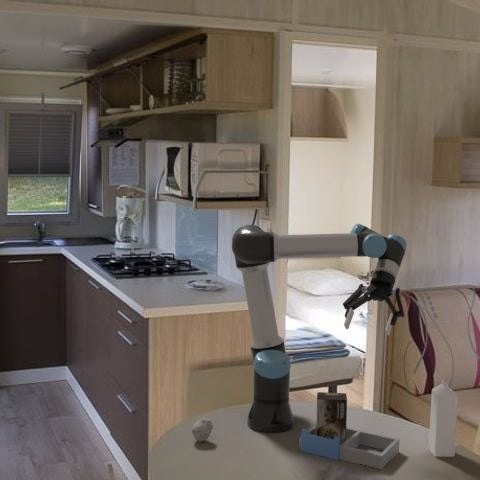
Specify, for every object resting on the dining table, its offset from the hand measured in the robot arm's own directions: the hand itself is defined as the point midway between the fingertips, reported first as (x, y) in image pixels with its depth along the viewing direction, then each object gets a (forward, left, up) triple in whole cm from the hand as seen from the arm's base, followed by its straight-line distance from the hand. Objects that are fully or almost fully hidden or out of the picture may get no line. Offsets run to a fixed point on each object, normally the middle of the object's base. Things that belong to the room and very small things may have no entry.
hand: (366, 330), depth 235 cm
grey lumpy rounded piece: (-39, -34, -34) cm, 62 cm away
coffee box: (-4, -16, -34) cm, 38 cm away
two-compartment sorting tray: (+2, -16, -34) cm, 37 cm away
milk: (+26, -2, -34) cm, 43 cm away
